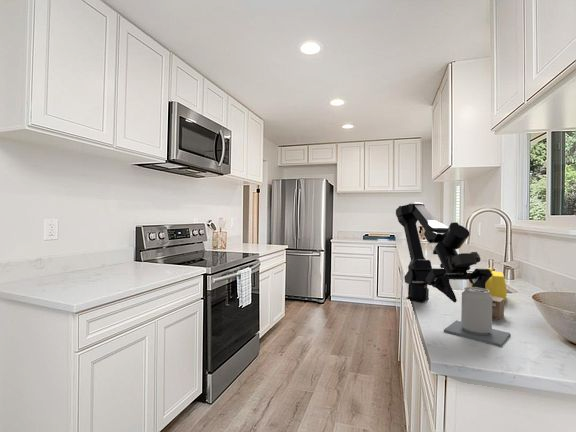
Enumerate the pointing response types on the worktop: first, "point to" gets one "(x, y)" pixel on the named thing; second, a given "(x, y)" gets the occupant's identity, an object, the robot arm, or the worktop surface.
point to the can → (476, 310)
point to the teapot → (496, 284)
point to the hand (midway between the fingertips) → (470, 301)
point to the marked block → (497, 308)
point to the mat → (491, 338)
